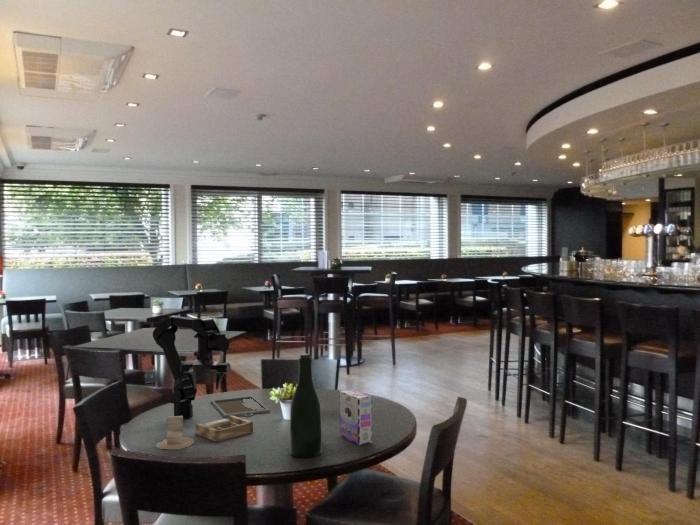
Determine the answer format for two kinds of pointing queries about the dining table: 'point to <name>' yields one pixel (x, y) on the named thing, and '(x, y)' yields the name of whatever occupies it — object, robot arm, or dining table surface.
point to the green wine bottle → (305, 414)
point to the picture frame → (237, 407)
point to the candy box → (356, 417)
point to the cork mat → (186, 443)
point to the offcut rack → (224, 428)
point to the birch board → (174, 430)
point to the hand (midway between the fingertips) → (205, 389)
